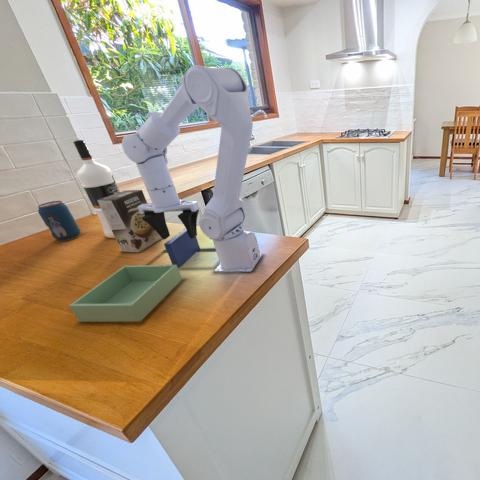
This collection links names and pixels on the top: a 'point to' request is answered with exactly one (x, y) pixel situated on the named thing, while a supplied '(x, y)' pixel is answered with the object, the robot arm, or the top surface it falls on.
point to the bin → (127, 294)
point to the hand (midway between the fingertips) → (180, 237)
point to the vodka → (96, 183)
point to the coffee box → (128, 220)
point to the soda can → (59, 220)
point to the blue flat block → (181, 248)
